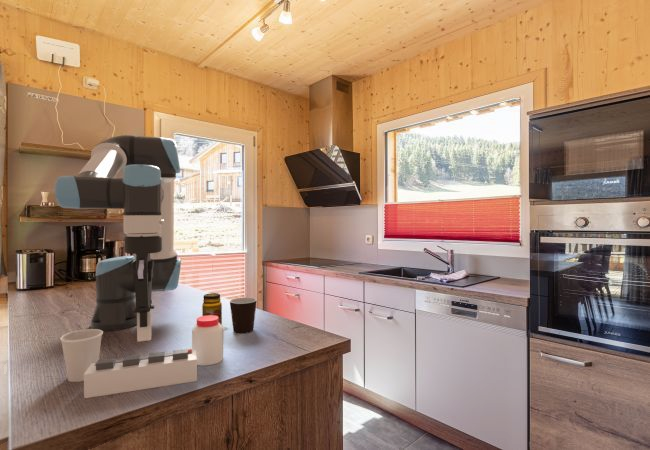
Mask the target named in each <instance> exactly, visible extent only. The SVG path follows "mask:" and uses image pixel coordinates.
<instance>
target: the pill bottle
mask: <svg viewBox="0 0 650 450" xmlns="http://www.w3.org/2000/svg"><path fill="white" fill-rule="evenodd" d="M223 327H224V326H223V324H222V325H221V324H220V323H219V317H218V316H215V315H207V316H198V317H197V318H196V324H195V325H194V326H193V328H192V329H191V338H192V339H191V341H192V342H191V346H192V347H191V349H192V351H193V350H196V353H197V366H201V367H202V366H211V365H212V366H213V365H215V364H218V363H220V362H222V361H223V360H224V330H223Z"/></svg>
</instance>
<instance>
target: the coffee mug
mask: <svg viewBox="0 0 650 450" xmlns="http://www.w3.org/2000/svg"><path fill="white" fill-rule="evenodd" d="M257 301H258V300H257V298H255V297H247V296H246V297H235V298H232V299H230V300H229V305H230V314H231V315H230V316H231V320H232V321H231V322H232V331H233V333H235V334H238V335H240V334H241V335H242V334H250V333H252V332H253V331H254V328H255V327H254V326H255V319H256V310H257V309H256V308H257Z"/></svg>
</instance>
